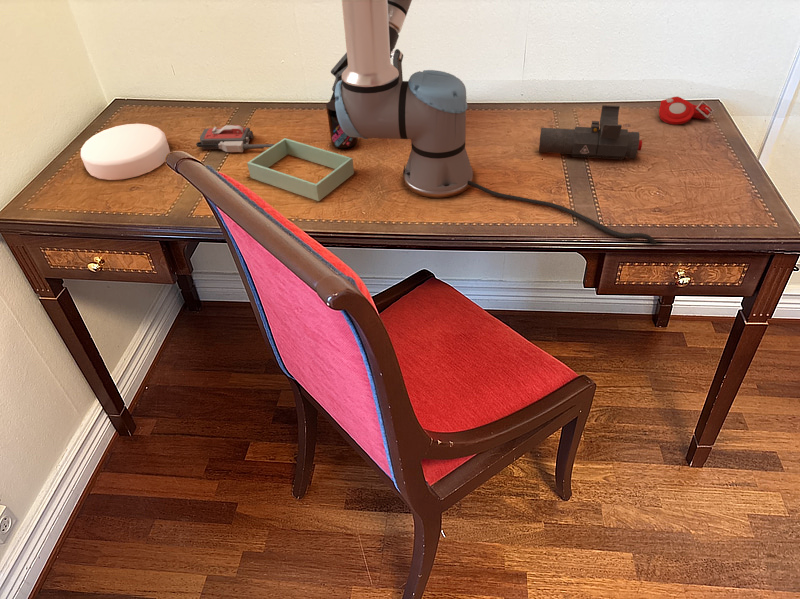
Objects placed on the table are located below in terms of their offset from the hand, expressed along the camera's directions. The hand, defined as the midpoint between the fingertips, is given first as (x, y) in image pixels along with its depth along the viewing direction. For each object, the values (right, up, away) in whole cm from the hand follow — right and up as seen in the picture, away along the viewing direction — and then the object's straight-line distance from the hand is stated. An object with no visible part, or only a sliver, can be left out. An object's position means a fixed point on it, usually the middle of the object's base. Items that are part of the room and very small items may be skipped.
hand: (355, 111), depth 153 cm
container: (-56, -12, +1) cm, 57 cm away
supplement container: (-3, -8, +1) cm, 8 cm away
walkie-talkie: (-29, -8, +3) cm, 31 cm away
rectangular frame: (-12, -18, -9) cm, 23 cm away
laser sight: (+55, -13, -8) cm, 57 cm away
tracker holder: (+82, -1, +3) cm, 82 cm away
